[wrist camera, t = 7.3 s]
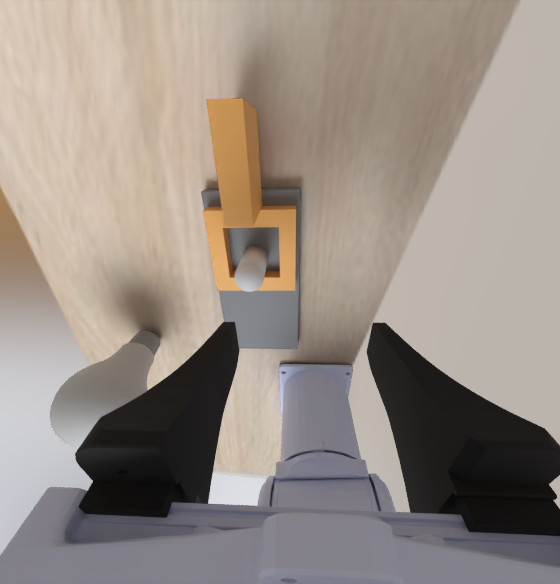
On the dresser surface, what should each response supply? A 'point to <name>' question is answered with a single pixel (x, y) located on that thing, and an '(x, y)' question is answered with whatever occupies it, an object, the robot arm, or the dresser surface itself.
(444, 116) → the dresser surface
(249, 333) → the keeper board
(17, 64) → the dresser surface
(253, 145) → the orange loop handle block
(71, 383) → the lightbulb
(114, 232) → the dresser surface
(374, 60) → the dresser surface
